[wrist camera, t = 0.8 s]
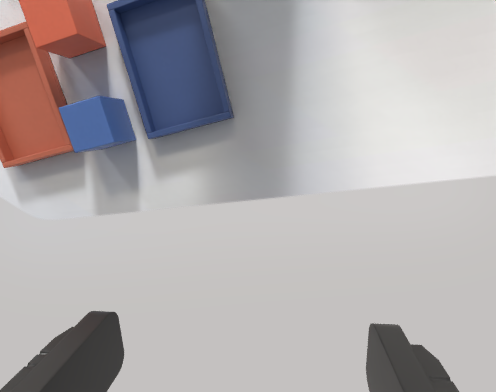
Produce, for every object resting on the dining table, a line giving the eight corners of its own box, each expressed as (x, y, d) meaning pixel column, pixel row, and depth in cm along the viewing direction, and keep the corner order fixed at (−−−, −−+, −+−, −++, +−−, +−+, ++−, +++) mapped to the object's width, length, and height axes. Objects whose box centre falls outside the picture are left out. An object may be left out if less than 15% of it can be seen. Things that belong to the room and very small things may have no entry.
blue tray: (115, 10, 30) (106, 4, 28) (199, -19, 29) (194, -28, 27) (155, 138, 33) (148, 139, 31) (233, 117, 31) (231, 117, 30)
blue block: (87, 109, 33) (57, 107, 29) (123, 99, 32) (98, 95, 28) (101, 149, 34) (74, 153, 29) (136, 139, 33) (114, 142, 29)
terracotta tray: (-31, 51, 33) (-48, 47, 31) (39, 26, 31) (25, 21, 30) (16, 166, 36) (3, 168, 34) (82, 148, 34) (72, 149, 32)
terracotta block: (54, 13, 31) (16, -5, 26) (91, 0, 30) (59, -21, 26) (69, 58, 32) (35, 48, 27) (106, 46, 31) (77, 33, 27)
